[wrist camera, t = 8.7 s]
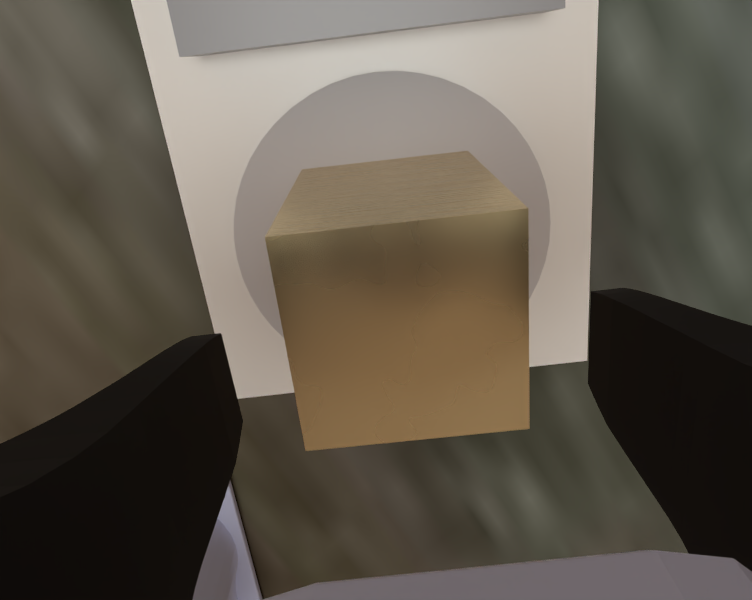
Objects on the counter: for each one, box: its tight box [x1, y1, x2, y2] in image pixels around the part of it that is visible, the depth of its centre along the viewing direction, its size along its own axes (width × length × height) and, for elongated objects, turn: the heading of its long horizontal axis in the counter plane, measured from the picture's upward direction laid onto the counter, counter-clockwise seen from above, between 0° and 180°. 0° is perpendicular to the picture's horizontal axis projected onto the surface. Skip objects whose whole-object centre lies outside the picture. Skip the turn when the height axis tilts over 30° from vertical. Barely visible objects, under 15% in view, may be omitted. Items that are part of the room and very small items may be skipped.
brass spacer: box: [265, 151, 530, 451], centre depth 15 cm, size 5×5×7 cm
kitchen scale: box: [131, 0, 598, 399], centre depth 18 cm, size 15×13×5 cm
